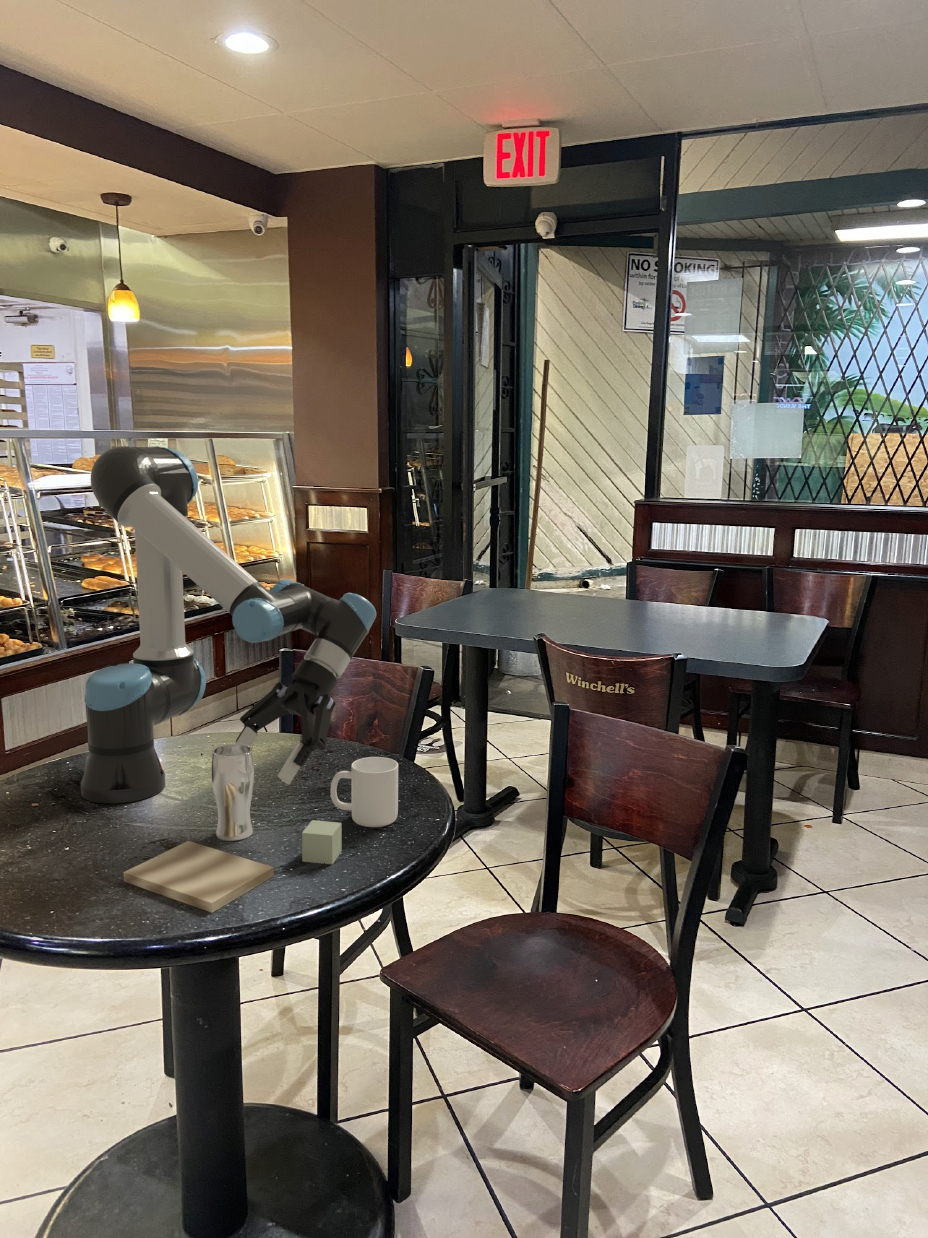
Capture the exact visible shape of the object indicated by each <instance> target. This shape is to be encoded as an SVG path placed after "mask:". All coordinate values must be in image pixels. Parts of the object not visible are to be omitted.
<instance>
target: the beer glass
mask: <svg viewBox="0 0 928 1238" xmlns="http://www.w3.org/2000/svg"><path fill="white" fill-rule="evenodd" d="M211 753H212V754H211V783H212V790H213V795H214V800H215V805H216V810H217V827H216V830H215V831H216V832H215V834H216V837H217V839H219V840H222V841H226V842H227V841H228V842H236V841H242V840H245V839H248V838H249V837H251V835H253V832H254V830H253V829H254V828H253V826H252V820H251V804H252V797H253V791H254V785H255V784H254V782H255V766H254V765H255V764H254V755H253V747H252V746H251V747H250V746H248V745H244V744H235V743H228V744H222V745H218V746H216V747H214V748H213V749H212V751H211Z"/></svg>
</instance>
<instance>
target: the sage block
mask: <svg viewBox="0 0 928 1238" xmlns="http://www.w3.org/2000/svg"><path fill="white" fill-rule="evenodd" d="M342 837H343V836H342V822H336V821H335V822H334V821H324V820H313V819H312V820H311V821H310V822H309V823H308V825H307V826H306V827H305V828H304V829H303V830H302V832H301V847H302V849H301V850H302V851H301V853H302V854H301V859H302V860H301V861H302V863H312V864H313V863H314V864H324V863H325V865H333V864H334V863H335V861H336V860H337V859H338V857H339V855H340V854H341V853H342V849H343V847H342V842H343V841H342V839H343V838H342Z"/></svg>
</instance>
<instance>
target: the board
mask: <svg viewBox="0 0 928 1238" xmlns="http://www.w3.org/2000/svg"><path fill="white" fill-rule="evenodd" d="M274 872H275V871H274V867H273V866H272V865H267V864H264V863H261V862H258V861H255V860H251V859H248V858H245V857H241V856H239V855H235V854H232V853H229V852H225V851H222V850H220V849H216V848H213V847H210V846H207V845H202V844H201V843H196V842H194V841H190V840H187V841H185V842H184V843H181V844H179V845H177V846H175V847H173V848H171V849H169V850H166V851H165V852H162V853H161V854H158V855H156V856H154V857H152V858H150V859H148V860H146V861H144V862H142V863H140V864H138V865H136V866H134V867H131V868H129V869H128V870H126V871H123V882H124V883H127V884H130V885H133V886H135V887H139V888H141V889H144V890H147V891H149V892H152V893H155V894H158V895H161V896H163V897H167V898H168V899H172V900H174V901H175V900H176V901H178V902H181V903H183V904H186V905H189V906H192V907H195V908H197V909H200V910H204V911H206V912H208V913H210V914H213V913H214V912H216V911H217V910H219V909H221V908H223V907H224V906H226V905H228V904H230V903H231V902H233V901H234V900H236V899H238V898H240V897H241V896H243V895H244V894H246V893H248V892H249V891H252V889H254V888H257V887H259V885H261V884H263V883H264V882H266V881H268V880H270V879H271V878H273V877H274Z"/></svg>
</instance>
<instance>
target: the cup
mask: <svg viewBox="0 0 928 1238" xmlns="http://www.w3.org/2000/svg"><path fill="white" fill-rule="evenodd" d="M350 768H351V770H341V771H338V772H337V773H336V774H335V775H334V776H333V778H332V779H331V784H330V798H331V801H332V803H333V805H334V806H335V807H336V808H337V809H340V810H342V811H351V818H352V821H353V822H354V823H356V824H357V825H359V826H362V827H365V828H366V827H368V828H379V827H386V826H389V825H392V824H393V823H394V822H395V821H396V820H397V818H398V815H399V814H398V811H399V762H397V761H396V760H394V759H392V758H389V757H383V756H382V757H381V756H369V757H367V756H366V757H363V758H359V759H356V760H355V761H353V762H352V763H351V767H350ZM341 779H349V780H351V783H350V784H351V785H350V786H351V789H350V790H351V802H343V801H340V799H339V798H338V794H337V789H338V788H337V787H338V783H339V781H340V780H341Z"/></svg>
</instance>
